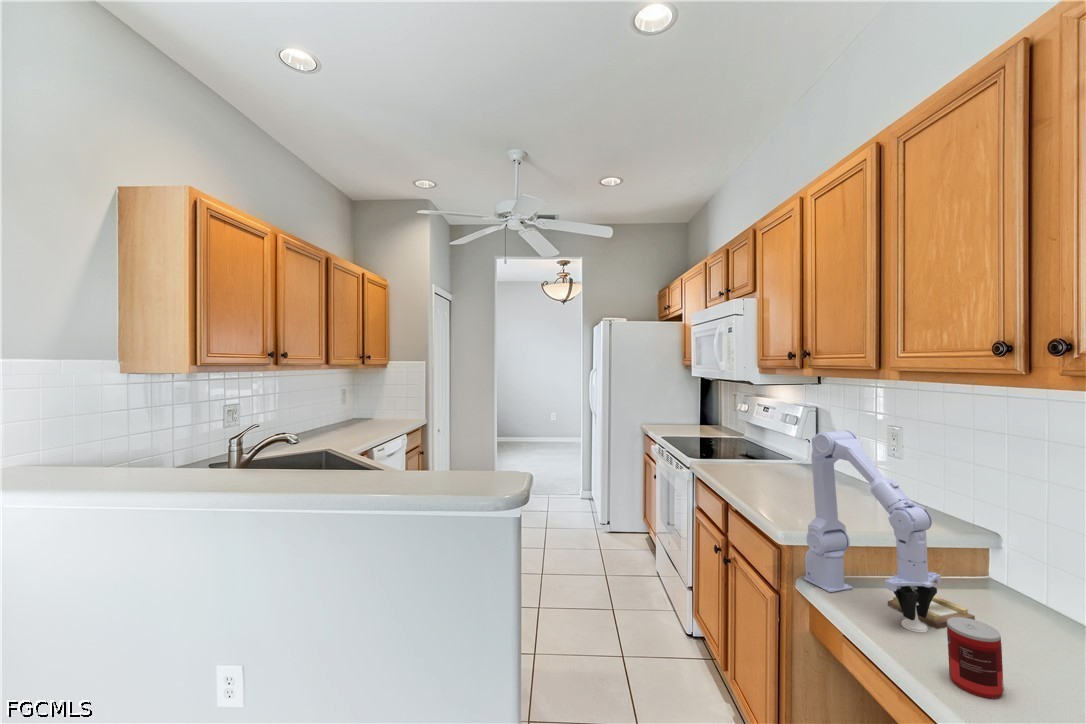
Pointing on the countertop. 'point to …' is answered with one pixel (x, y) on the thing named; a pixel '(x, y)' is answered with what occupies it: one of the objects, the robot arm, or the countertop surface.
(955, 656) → the canned food
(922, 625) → the chess piece
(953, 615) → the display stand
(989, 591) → the countertop surface
